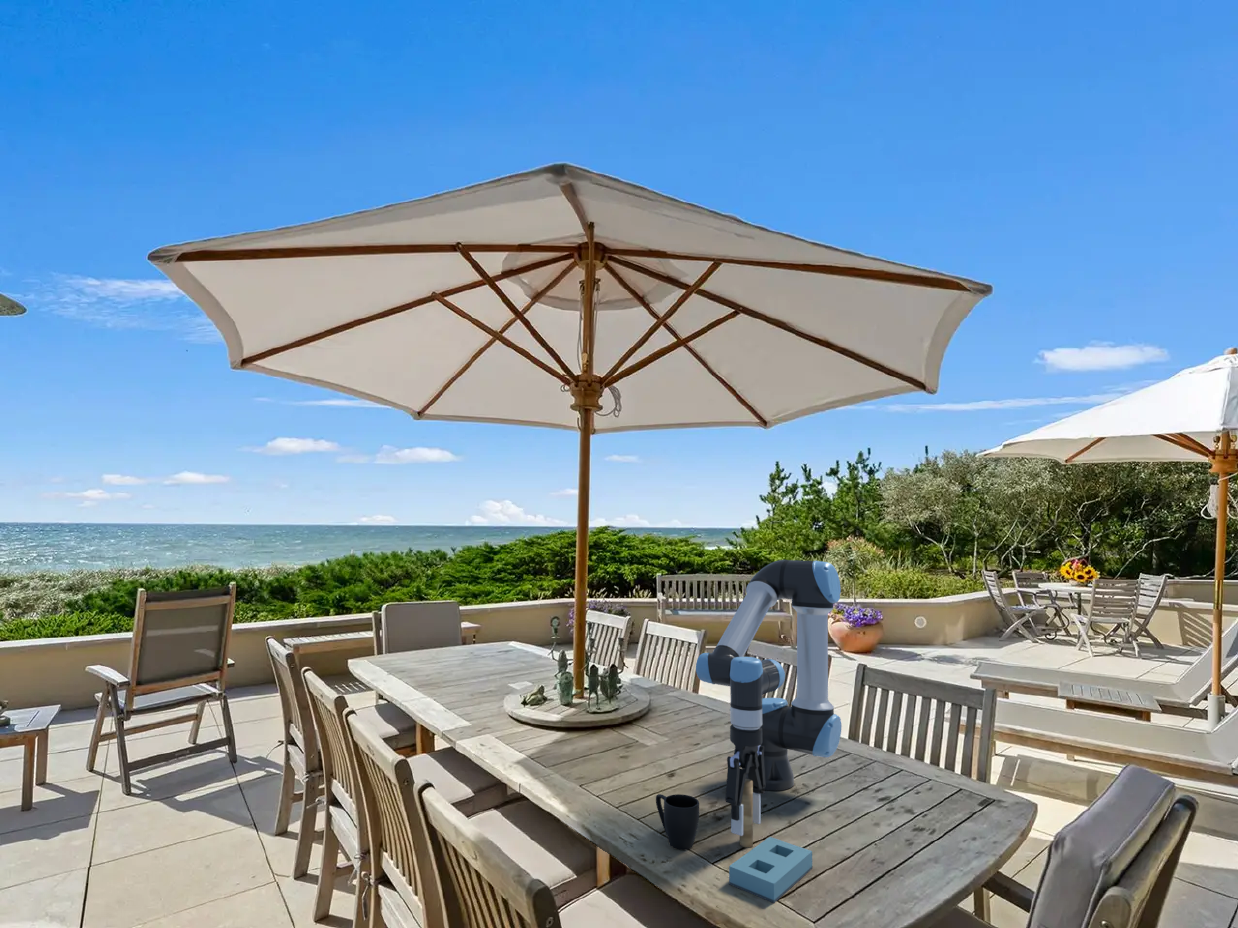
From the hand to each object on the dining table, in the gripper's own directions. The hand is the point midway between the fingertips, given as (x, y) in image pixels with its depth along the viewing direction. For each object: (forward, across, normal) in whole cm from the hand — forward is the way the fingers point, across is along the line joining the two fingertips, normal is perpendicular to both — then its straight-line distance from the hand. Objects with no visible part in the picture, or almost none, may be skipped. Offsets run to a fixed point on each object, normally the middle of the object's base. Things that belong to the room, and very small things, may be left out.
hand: (746, 827), depth 148 cm
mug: (+4, +10, -13) cm, 17 cm away
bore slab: (+4, +9, +11) cm, 15 cm away
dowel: (+4, 0, 0) cm, 4 cm away
